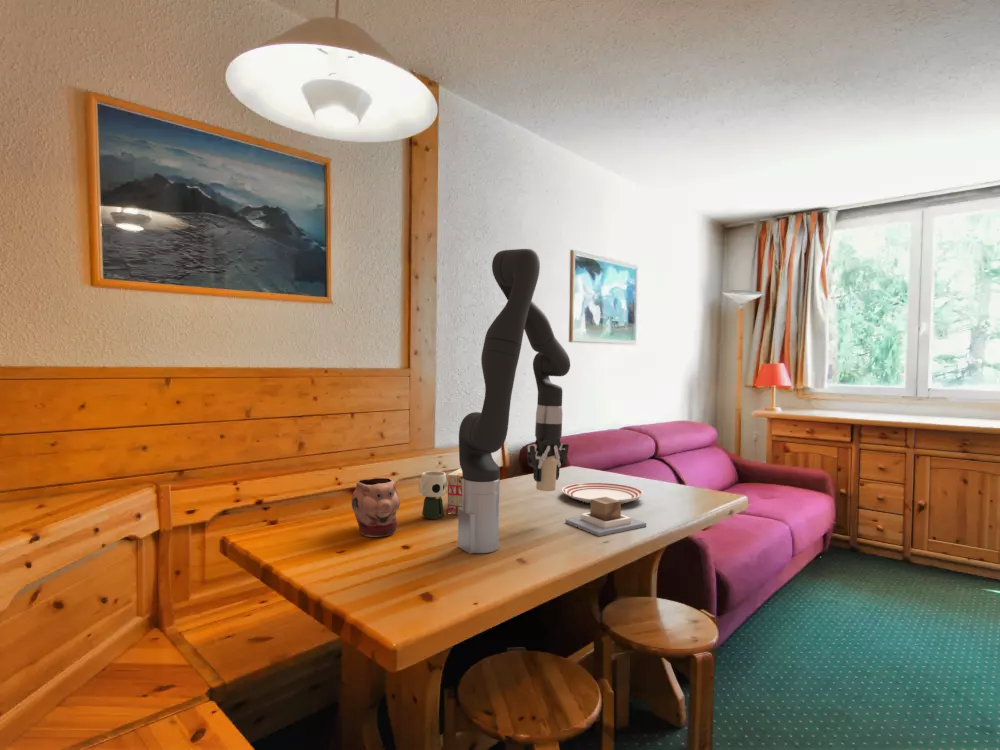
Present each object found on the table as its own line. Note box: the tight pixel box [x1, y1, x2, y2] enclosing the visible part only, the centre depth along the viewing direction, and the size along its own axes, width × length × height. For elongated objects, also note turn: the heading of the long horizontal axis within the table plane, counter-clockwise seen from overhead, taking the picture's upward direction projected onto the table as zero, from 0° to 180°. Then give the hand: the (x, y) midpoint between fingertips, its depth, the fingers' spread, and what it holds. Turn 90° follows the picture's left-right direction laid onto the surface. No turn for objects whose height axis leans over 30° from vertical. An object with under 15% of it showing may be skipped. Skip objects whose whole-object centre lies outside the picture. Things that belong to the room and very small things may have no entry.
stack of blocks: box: [446, 467, 462, 515], centre depth 172 cm, size 21×6×12 cm, turn 163°
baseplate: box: [564, 511, 647, 537], centre depth 155 cm, size 18×14×2 cm
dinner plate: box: [561, 481, 644, 505], centre depth 186 cm, size 27×27×3 cm
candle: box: [535, 456, 557, 492], centre depth 155 cm, size 6×6×10 cm
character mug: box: [418, 470, 448, 520], centre depth 159 cm, size 11×7×13 cm, turn 140°
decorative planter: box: [351, 477, 401, 538], centre depth 146 cm, size 20×12×14 cm, turn 36°
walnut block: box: [589, 497, 622, 521], centre depth 155 cm, size 6×6×6 cm
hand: (546, 480), depth 155 cm, fingers closed on candle, 5 cm apart
